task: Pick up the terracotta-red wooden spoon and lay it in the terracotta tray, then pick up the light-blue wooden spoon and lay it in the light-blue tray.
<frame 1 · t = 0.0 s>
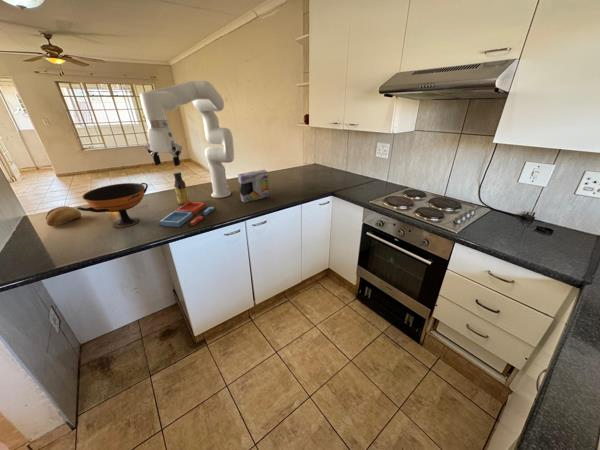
hand: (167, 164, 112), 31 cm above the countertop, tool pointing down, fingers open, 9 cm apart
bread roll: (66, 222, 131), on the countertop
blue tray: (177, 220, 131), on the countertop
cup: (126, 223, 129), on the countertop
sauce bottle: (184, 203, 153), on the countertop
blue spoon: (208, 211, 142), on the countertop
cake pan box: (254, 199, 159), on the countertop
red tray: (191, 210, 144), on the countertop
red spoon: (197, 221, 130), on the countertop
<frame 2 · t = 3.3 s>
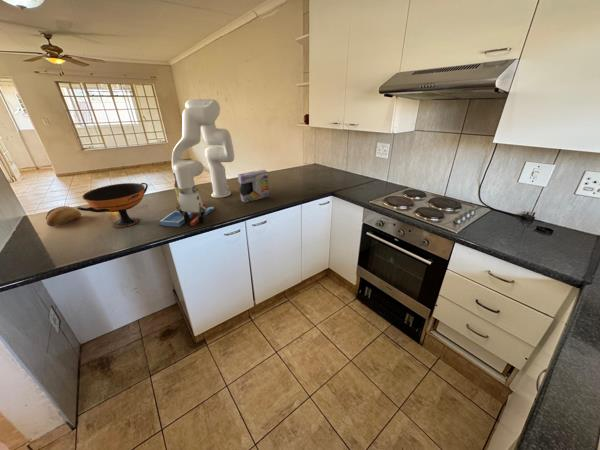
hand: (194, 222, 128), 1 cm above the countertop, tool pointing down, fingers open, 7 cm apart
nothing on the countertop moved.
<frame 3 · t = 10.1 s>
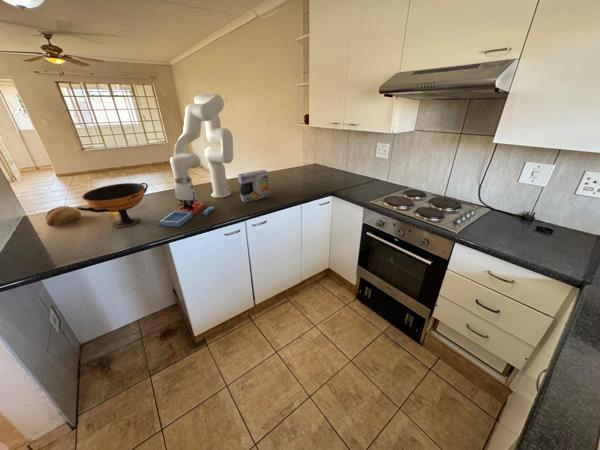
hand: (189, 210, 141), 1 cm above the countertop, tool pointing down, fingers closed, pressing on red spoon, red tray
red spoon: (191, 209, 143), point 1 cm above the countertop, touching gripper
everything else where it was.
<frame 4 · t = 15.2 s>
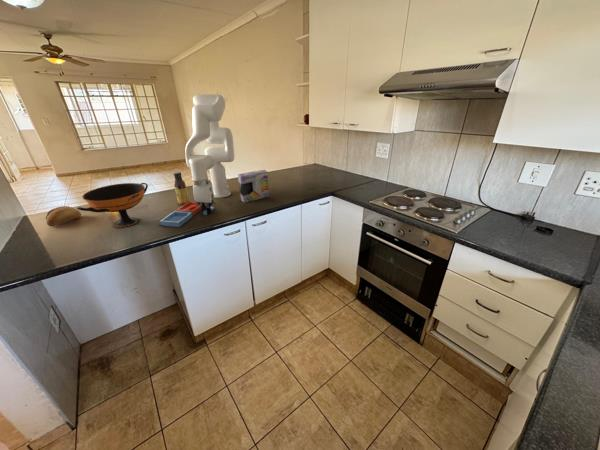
hand: (207, 212, 140), 0 cm above the countertop, tool pointing down, fingers closed on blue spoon, 1 cm apart
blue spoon: (208, 211, 142), on the countertop, touching gripper
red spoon: (191, 209, 143), resting on red tray
everything else where it was.
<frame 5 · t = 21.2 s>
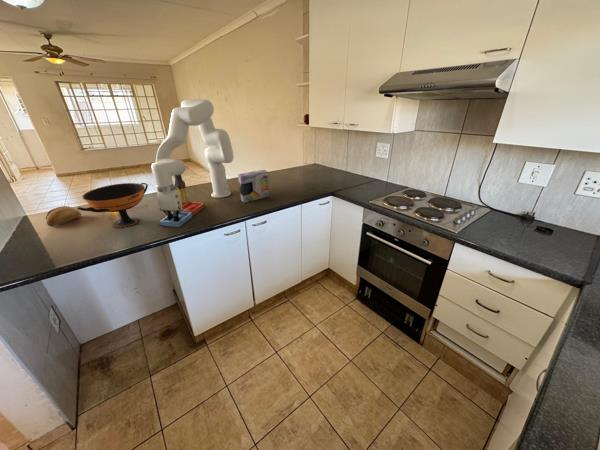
hand: (174, 221, 129), 1 cm above the countertop, tool pointing down, fingers closed
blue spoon: (176, 220, 131), resting on blue tray
everything else where it was.
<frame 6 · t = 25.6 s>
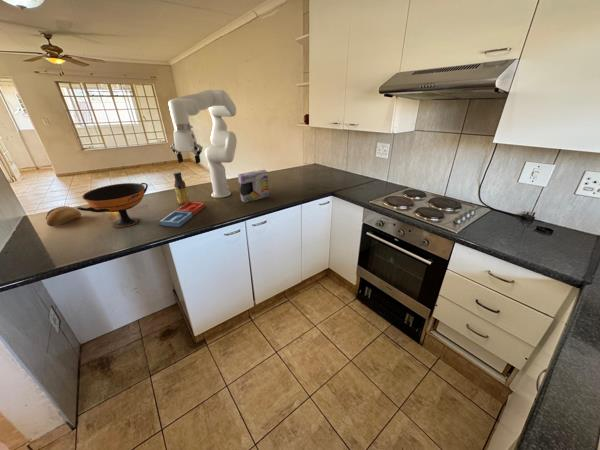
hand: (189, 162, 128), 28 cm above the countertop, tool pointing down, fingers open, 9 cm apart
nothing on the countertop moved.
at the end: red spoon inside the target area in the red tray (0.3 cm from its centre), point 0.5 cm above the red tray's base; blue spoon inside the target area in the blue tray (0.2 cm from its centre), point 0.5 cm above the blue tray's base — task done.
